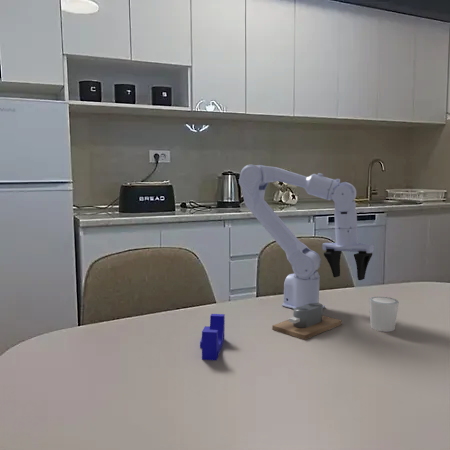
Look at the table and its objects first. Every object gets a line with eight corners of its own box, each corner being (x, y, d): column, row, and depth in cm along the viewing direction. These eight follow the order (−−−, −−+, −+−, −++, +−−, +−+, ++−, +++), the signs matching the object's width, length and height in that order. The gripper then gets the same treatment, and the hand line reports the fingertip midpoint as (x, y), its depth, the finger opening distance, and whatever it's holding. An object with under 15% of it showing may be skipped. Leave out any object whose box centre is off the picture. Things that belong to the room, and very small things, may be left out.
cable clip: (204, 338, 105) (204, 313, 105) (224, 340, 105) (224, 314, 104) (194, 359, 94) (194, 331, 93) (216, 361, 93) (216, 332, 92)
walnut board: (272, 329, 111) (272, 325, 111) (310, 315, 122) (310, 312, 122) (304, 339, 105) (304, 335, 105) (341, 324, 115) (341, 320, 115)
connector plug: (285, 327, 110) (286, 311, 110) (313, 317, 118) (313, 301, 117) (297, 331, 107) (298, 314, 107) (324, 320, 115) (325, 304, 115)
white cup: (393, 323, 116) (394, 296, 116) (400, 333, 110) (402, 304, 109) (365, 322, 117) (366, 295, 116) (371, 331, 110) (372, 303, 109)
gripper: (314, 229, 126) (317, 278, 127) (362, 230, 115) (364, 283, 116) (330, 226, 131) (332, 273, 132) (376, 226, 120) (379, 278, 121)
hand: (348, 278), depth 124 cm, fingers open, 7 cm apart
